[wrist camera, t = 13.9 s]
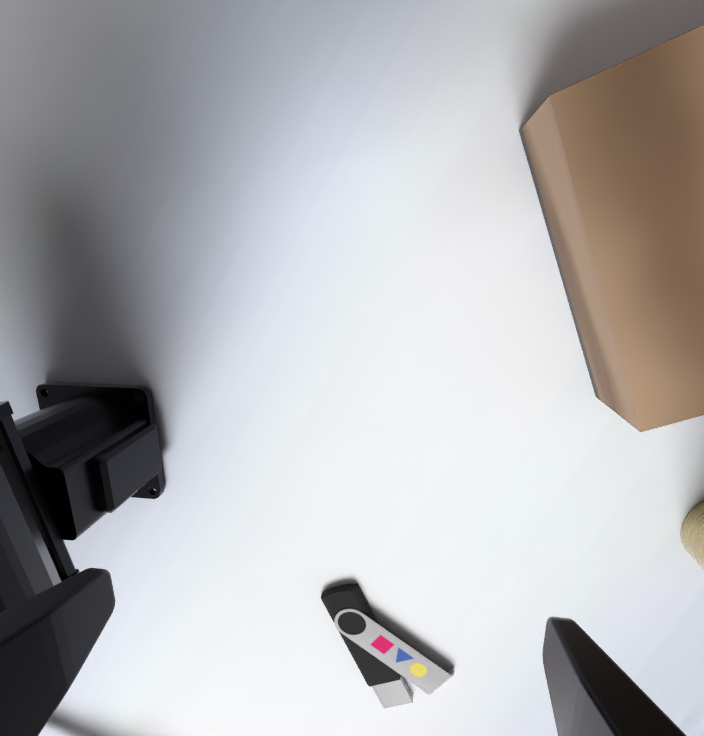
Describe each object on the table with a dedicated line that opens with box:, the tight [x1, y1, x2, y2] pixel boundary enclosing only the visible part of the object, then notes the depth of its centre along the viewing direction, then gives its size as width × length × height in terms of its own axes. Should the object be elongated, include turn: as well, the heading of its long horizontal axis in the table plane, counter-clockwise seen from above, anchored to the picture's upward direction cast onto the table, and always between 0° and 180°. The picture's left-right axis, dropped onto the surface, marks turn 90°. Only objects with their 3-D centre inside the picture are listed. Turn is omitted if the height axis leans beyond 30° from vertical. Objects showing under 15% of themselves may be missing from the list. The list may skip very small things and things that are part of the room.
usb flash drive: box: [321, 584, 454, 708], centre depth 25 cm, size 9×5×1 cm, turn 26°
